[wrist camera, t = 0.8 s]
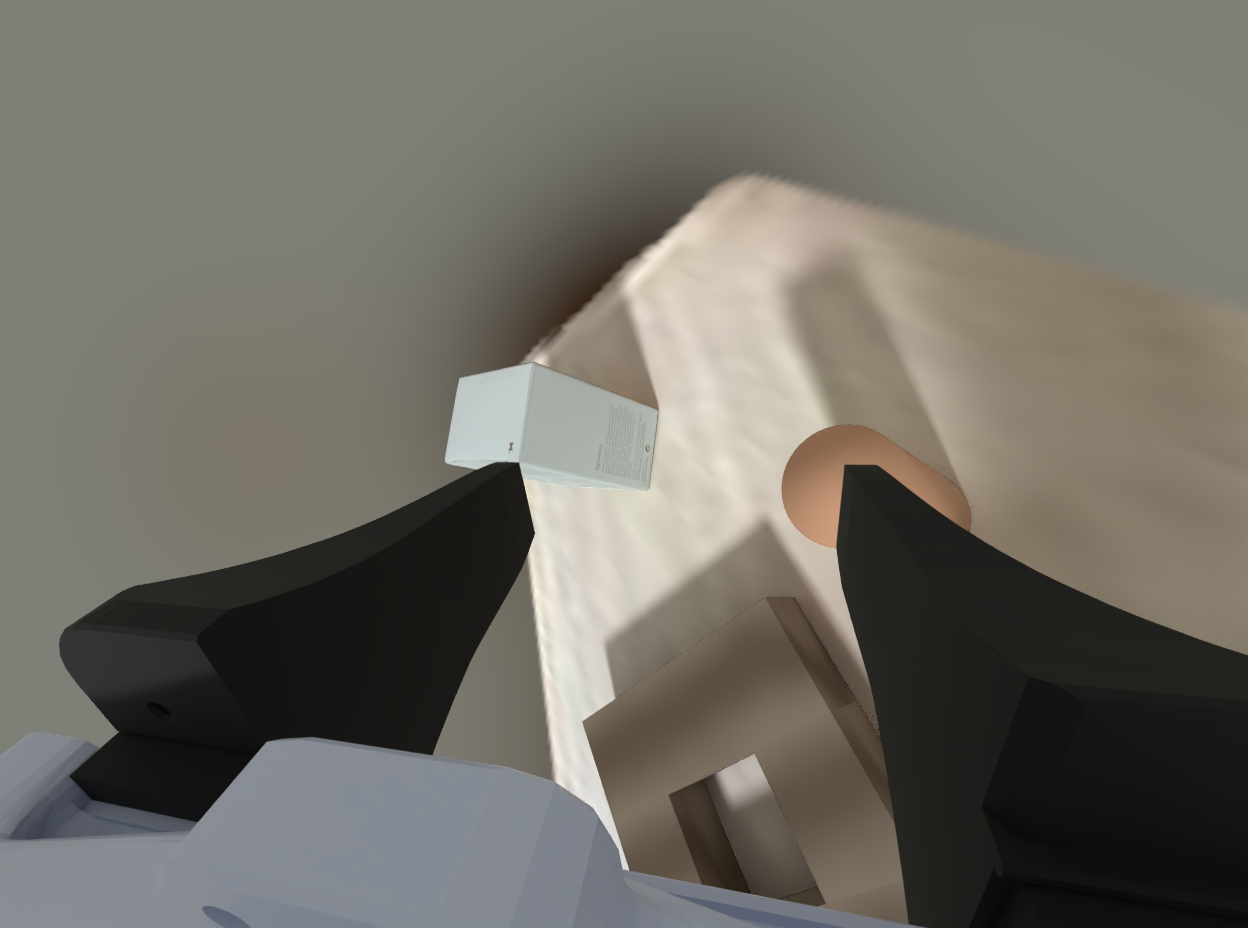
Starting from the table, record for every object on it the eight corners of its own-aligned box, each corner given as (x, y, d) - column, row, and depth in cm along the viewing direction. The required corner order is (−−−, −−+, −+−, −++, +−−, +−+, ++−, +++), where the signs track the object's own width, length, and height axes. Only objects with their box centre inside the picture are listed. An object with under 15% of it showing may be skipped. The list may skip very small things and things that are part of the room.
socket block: (1051, 1020, 18) (1041, 1080, 16) (744, 1068, 24) (707, 1115, 22) (794, 597, 26) (765, 597, 24) (617, 713, 33) (582, 721, 30)
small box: (661, 409, 35) (534, 358, 27) (650, 493, 34) (518, 464, 26) (580, 416, 40) (457, 374, 33) (570, 488, 40) (441, 462, 32)
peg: (994, 527, 21) (939, 497, 15) (907, 579, 23) (825, 573, 17) (927, 453, 23) (854, 399, 17) (853, 506, 25) (761, 476, 19)
